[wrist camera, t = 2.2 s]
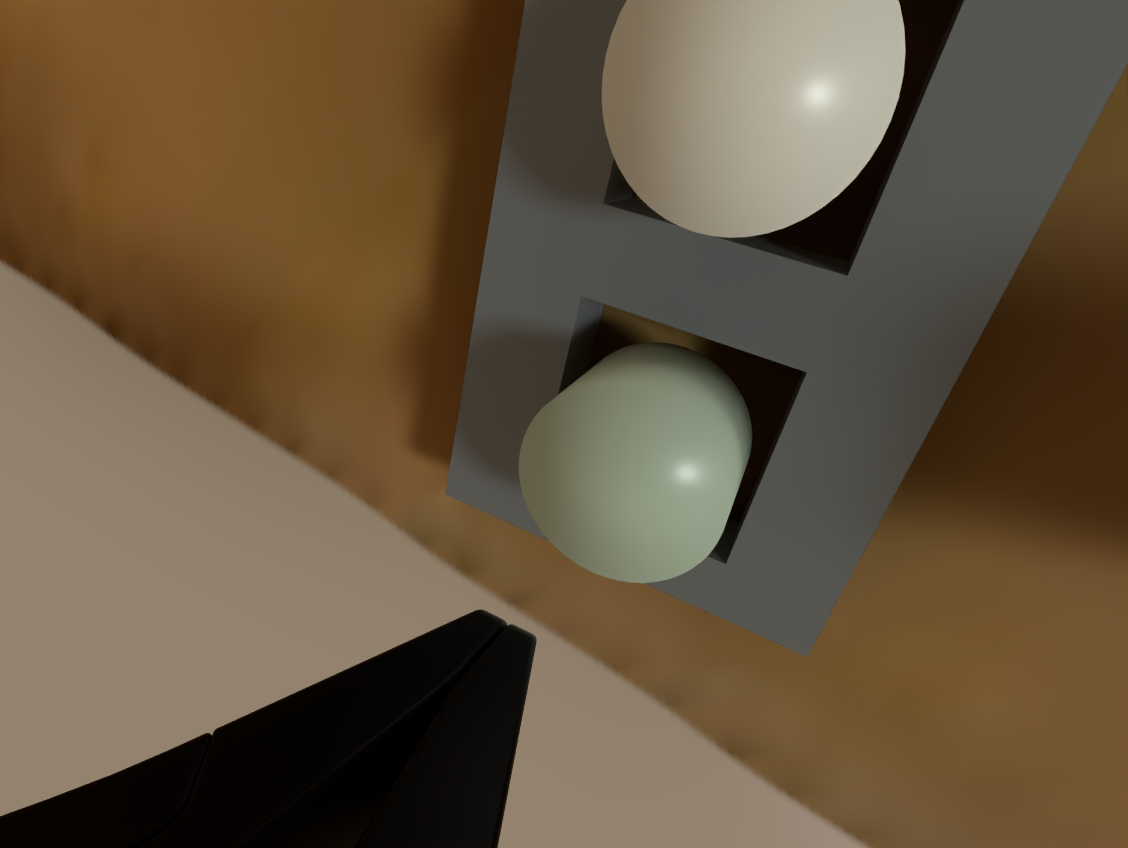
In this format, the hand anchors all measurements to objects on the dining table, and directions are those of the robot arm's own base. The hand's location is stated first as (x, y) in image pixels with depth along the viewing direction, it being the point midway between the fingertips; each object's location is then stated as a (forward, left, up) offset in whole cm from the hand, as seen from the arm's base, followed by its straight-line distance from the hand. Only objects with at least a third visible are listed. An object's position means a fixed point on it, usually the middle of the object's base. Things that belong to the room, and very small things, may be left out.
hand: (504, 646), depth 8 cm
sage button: (0, 0, -8) cm, 8 cm away
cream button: (0, -7, -8) cm, 10 cm away
